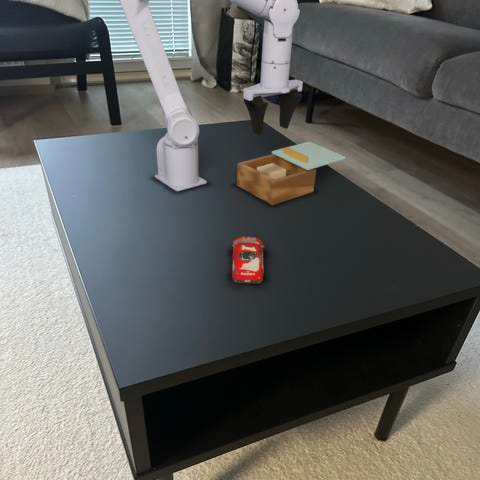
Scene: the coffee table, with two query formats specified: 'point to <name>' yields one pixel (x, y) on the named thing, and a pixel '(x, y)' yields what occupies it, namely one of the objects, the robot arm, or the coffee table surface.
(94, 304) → the coffee table surface
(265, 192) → the case
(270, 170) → the block
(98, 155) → the coffee table surface
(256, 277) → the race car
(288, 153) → the lid with orange handle
